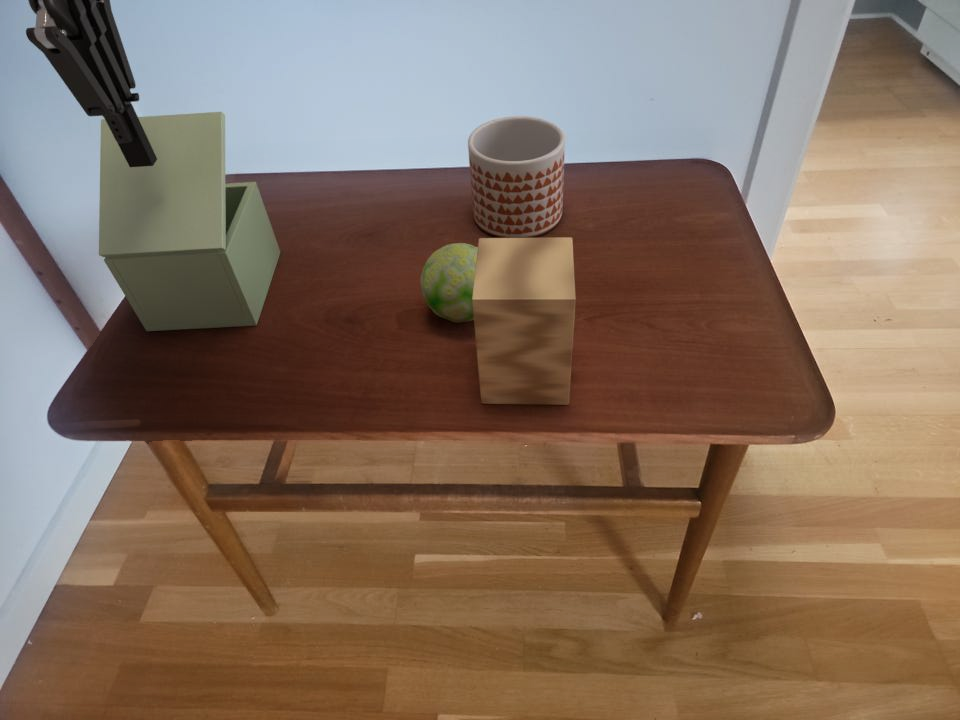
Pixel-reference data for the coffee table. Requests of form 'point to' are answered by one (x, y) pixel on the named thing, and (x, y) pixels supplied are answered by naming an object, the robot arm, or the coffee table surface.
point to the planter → (517, 176)
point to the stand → (524, 319)
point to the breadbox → (206, 273)
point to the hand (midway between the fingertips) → (143, 163)
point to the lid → (165, 189)
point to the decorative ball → (450, 281)
